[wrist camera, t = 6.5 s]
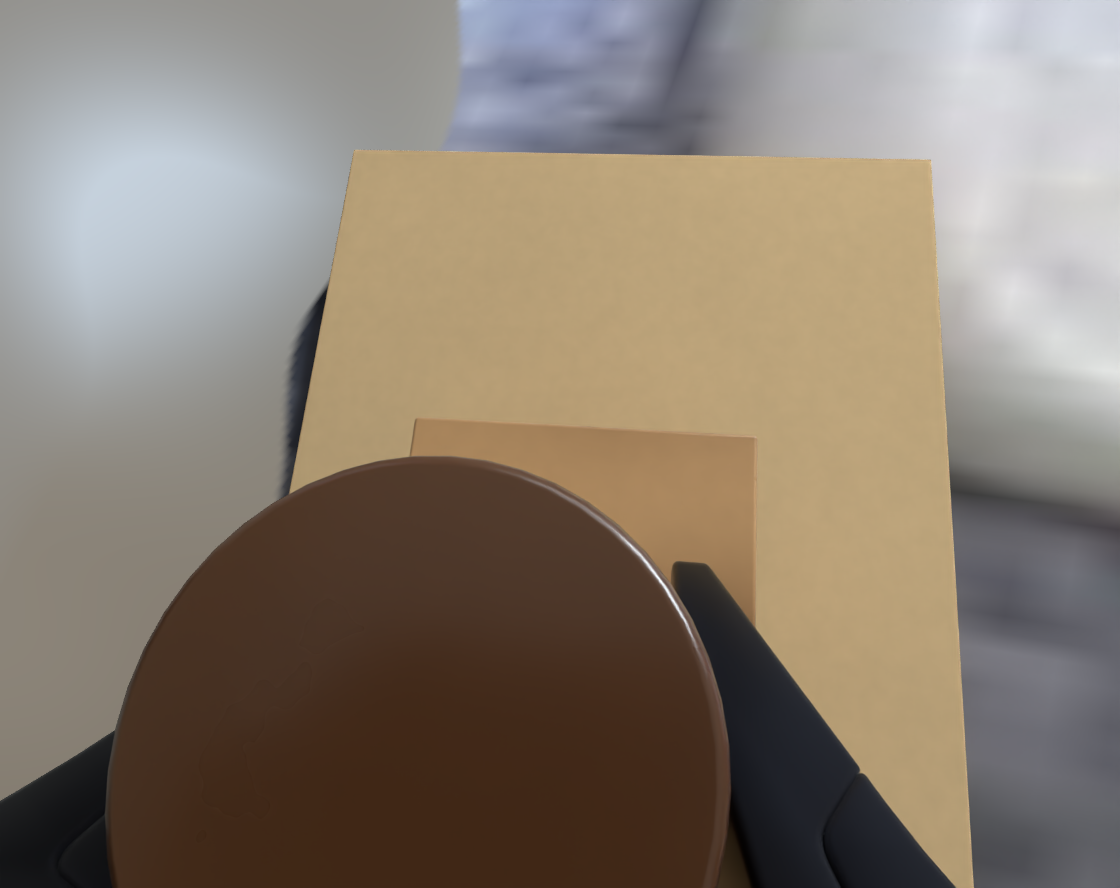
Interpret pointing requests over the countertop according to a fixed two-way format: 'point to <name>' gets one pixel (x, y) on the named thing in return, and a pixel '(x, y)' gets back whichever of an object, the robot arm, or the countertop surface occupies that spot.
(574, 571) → the wooden rubber stamp
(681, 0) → the countertop surface
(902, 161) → the cork mat
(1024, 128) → the countertop surface
